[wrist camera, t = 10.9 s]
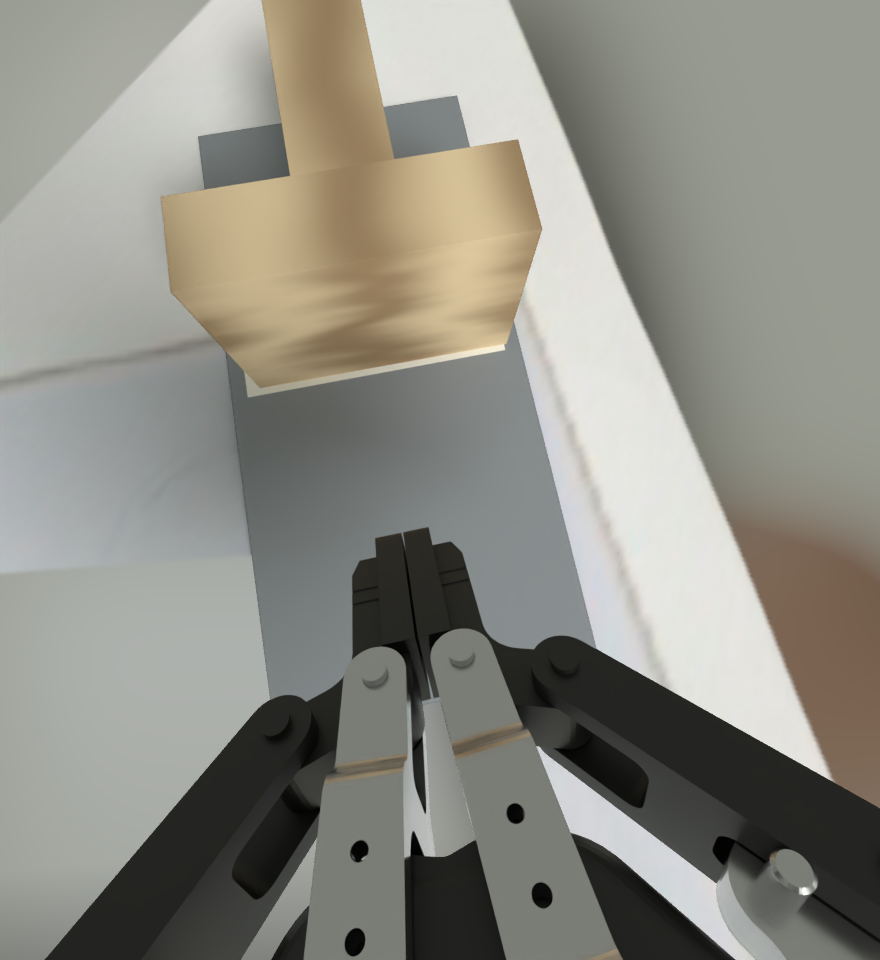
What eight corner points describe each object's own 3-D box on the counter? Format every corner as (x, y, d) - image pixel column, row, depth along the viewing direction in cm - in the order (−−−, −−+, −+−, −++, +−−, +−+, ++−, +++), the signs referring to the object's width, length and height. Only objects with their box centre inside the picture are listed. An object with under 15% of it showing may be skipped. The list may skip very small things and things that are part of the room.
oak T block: (260, 388, 23) (170, 292, 15) (232, 182, 25) (141, 5, 17) (506, 343, 24) (542, 228, 16) (458, 146, 26) (469, -41, 18)
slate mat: (278, 734, 21) (275, 737, 20) (201, 143, 26) (197, 136, 26) (597, 664, 21) (600, 666, 21) (456, 102, 27) (456, 95, 26)
